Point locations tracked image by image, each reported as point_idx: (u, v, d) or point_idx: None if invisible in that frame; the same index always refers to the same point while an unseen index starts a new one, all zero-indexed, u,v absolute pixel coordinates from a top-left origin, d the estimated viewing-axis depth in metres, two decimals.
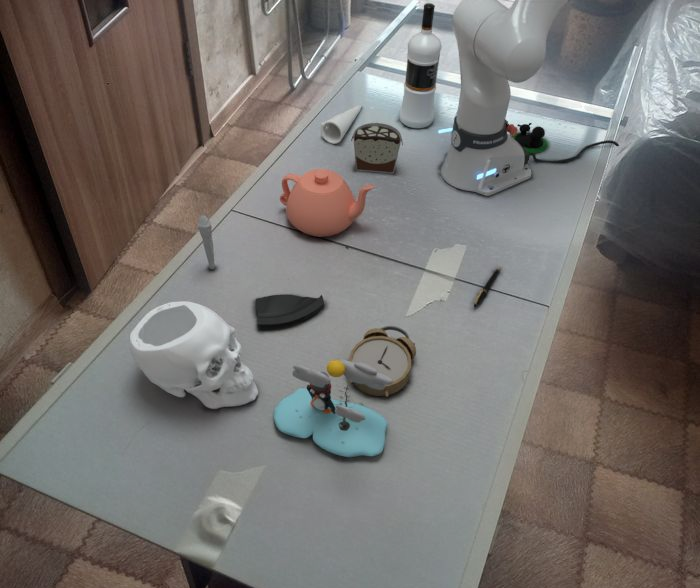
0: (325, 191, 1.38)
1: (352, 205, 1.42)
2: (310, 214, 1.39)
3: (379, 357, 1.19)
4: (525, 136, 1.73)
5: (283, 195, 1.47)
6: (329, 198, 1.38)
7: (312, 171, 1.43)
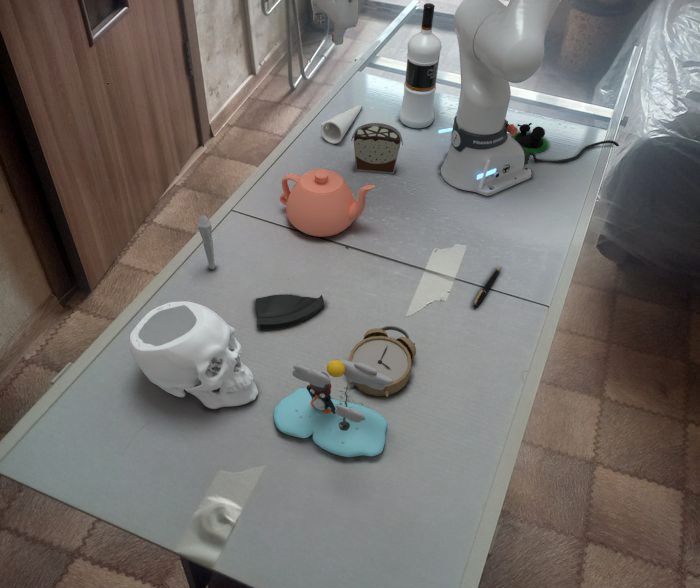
0: (325, 191, 1.38)
1: (352, 205, 1.42)
2: (310, 214, 1.39)
3: (379, 357, 1.19)
4: (525, 136, 1.73)
5: (283, 195, 1.47)
6: (329, 198, 1.38)
7: (312, 171, 1.43)
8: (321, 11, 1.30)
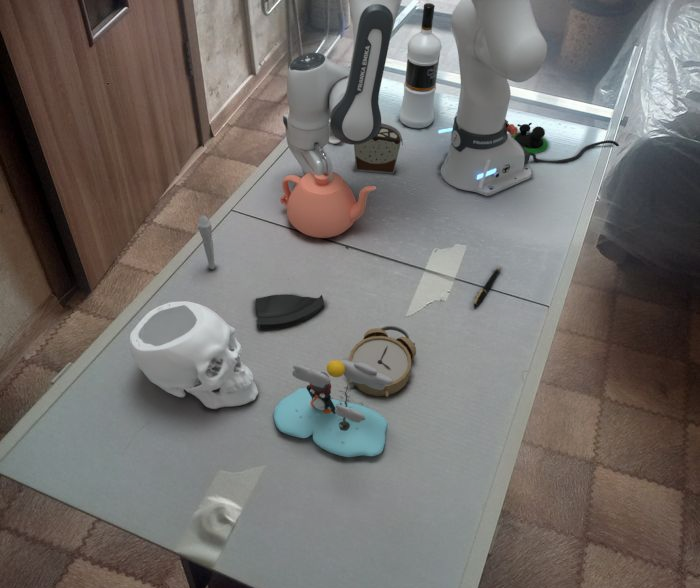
0: (326, 192, 1.38)
1: (353, 206, 1.42)
2: (310, 215, 1.39)
3: (379, 357, 1.19)
4: (525, 136, 1.73)
5: (284, 196, 1.47)
6: (330, 199, 1.38)
7: None
8: None
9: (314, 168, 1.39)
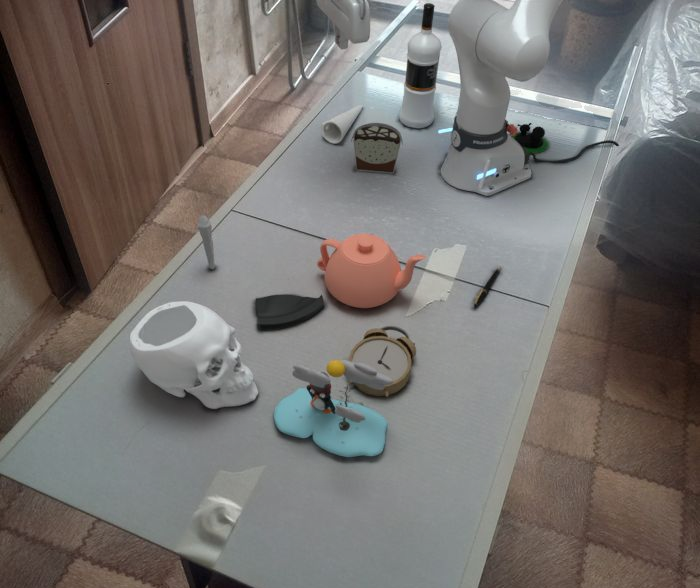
0: (370, 261, 1.25)
1: (399, 275, 1.28)
2: (352, 286, 1.26)
3: (379, 357, 1.19)
4: (525, 136, 1.73)
5: (321, 260, 1.33)
6: (374, 268, 1.24)
7: (354, 236, 1.29)
8: None
9: (350, 12, 1.24)
